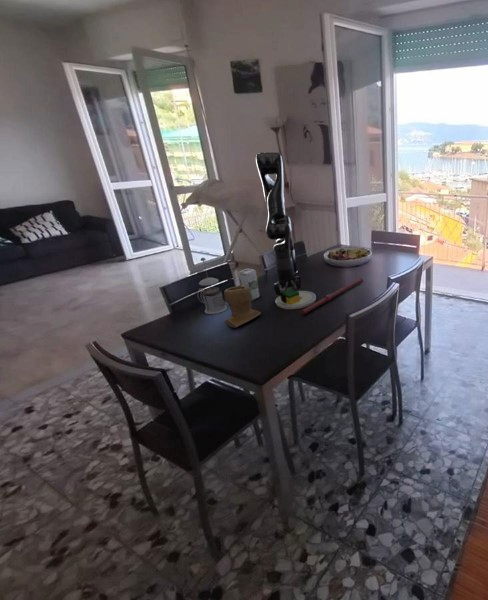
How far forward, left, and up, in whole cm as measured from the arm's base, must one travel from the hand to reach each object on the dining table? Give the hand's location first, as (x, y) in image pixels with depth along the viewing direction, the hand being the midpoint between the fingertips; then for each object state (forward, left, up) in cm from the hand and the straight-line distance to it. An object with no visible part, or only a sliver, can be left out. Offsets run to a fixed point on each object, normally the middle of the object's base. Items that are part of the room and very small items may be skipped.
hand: (290, 300), depth 169 cm
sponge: (0, 0, 0) cm, 0 cm away
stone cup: (-1, -24, -2) cm, 24 cm away
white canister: (-20, -9, -2) cm, 22 cm away
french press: (-21, -27, -2) cm, 34 cm away
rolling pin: (+12, +18, -2) cm, 21 cm away
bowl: (-26, +60, -2) cm, 66 cm away
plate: (0, +3, -2) cm, 4 cm away
